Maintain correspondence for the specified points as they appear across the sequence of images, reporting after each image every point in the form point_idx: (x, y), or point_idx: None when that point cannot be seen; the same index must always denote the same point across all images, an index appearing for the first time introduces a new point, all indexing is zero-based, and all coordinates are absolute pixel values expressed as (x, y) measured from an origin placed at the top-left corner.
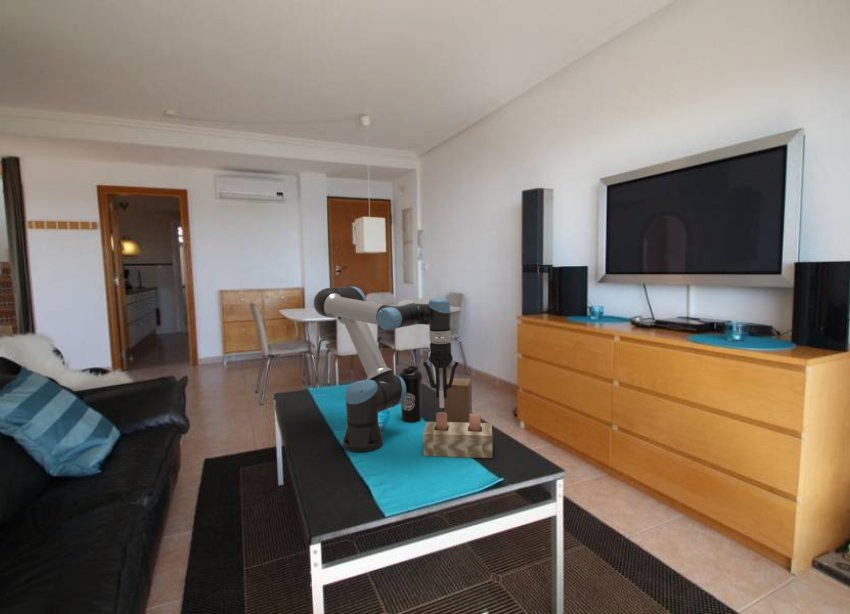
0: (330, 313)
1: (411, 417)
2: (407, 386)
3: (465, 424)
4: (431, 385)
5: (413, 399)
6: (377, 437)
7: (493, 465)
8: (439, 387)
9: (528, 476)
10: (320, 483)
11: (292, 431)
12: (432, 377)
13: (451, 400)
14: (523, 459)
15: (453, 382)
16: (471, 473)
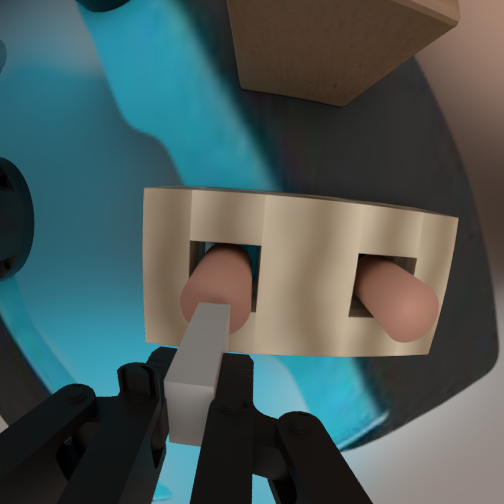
0: None
1: (102, 1)
2: None
3: (347, 230)
4: (78, 452)
5: None
6: (7, 253)
7: (385, 361)
8: (163, 434)
9: (440, 398)
10: (9, 404)
11: None
12: (40, 489)
13: (283, 35)
14: (466, 318)
15: None
16: (317, 405)
